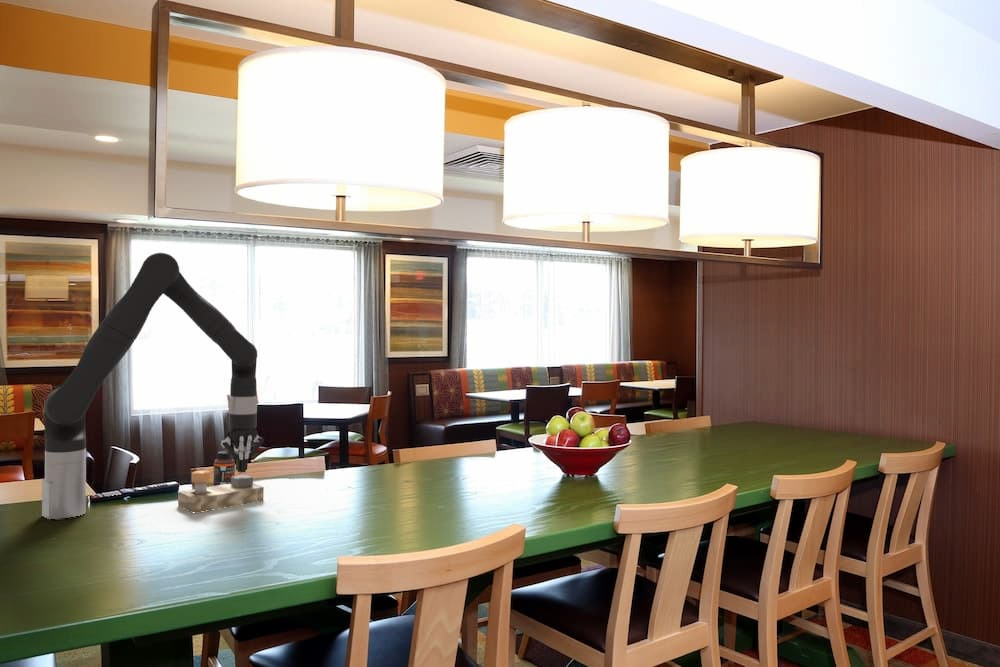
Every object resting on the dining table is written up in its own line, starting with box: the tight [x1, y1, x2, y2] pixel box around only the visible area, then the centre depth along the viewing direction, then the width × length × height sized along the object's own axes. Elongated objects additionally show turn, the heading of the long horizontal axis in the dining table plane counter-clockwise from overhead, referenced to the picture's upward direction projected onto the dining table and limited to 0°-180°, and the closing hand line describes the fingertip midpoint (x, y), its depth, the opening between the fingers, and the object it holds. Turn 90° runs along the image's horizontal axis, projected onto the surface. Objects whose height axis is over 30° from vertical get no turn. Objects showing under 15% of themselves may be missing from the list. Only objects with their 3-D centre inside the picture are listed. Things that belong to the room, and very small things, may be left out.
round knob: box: [191, 470, 211, 496], centre depth 203 cm, size 5×5×6 cm
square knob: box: [231, 474, 254, 489], centre depth 212 cm, size 4×4×6 cm
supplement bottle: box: [213, 450, 236, 486], centre depth 224 cm, size 6×6×11 cm
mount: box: [177, 482, 265, 513], centre depth 208 cm, size 20×10×4 cm, turn 136°
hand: (241, 471), depth 212 cm, fingers closed
